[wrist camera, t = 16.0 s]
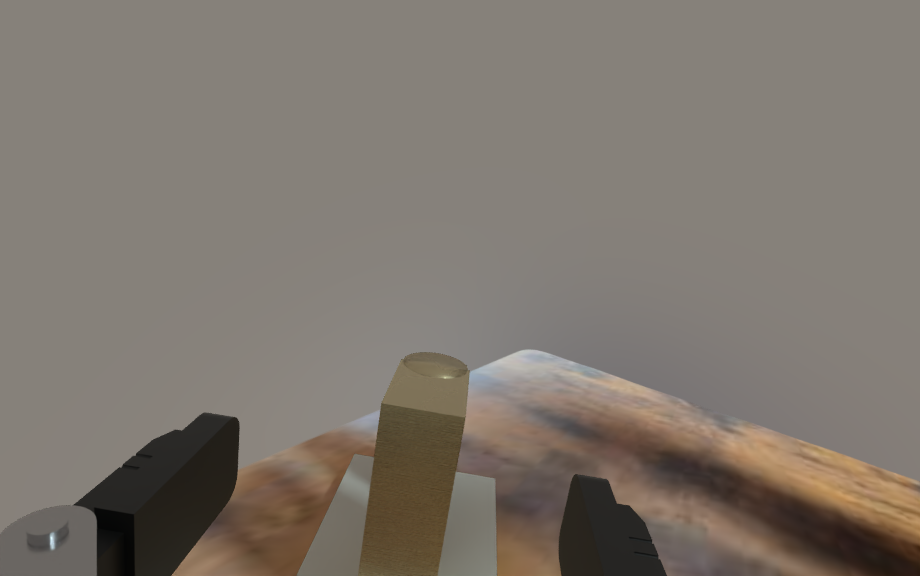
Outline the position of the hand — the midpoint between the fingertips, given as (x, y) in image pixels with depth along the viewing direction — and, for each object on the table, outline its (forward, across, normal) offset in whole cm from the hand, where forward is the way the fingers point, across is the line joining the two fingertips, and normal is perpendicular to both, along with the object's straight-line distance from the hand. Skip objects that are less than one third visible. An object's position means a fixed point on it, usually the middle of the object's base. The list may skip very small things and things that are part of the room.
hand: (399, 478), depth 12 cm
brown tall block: (+10, 0, +14) cm, 17 cm away
